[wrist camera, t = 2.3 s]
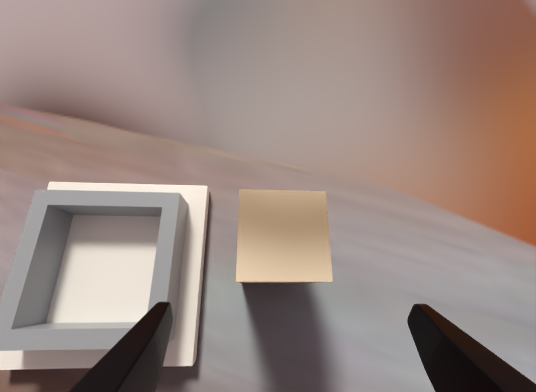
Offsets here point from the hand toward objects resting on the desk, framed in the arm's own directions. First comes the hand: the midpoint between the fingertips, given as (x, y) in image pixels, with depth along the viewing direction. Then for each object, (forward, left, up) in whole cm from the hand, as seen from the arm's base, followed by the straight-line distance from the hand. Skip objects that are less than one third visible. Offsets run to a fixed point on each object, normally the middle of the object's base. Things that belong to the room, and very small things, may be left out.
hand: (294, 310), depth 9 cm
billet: (+3, +1, -10) cm, 10 cm away
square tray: (+1, +11, -10) cm, 15 cm away
